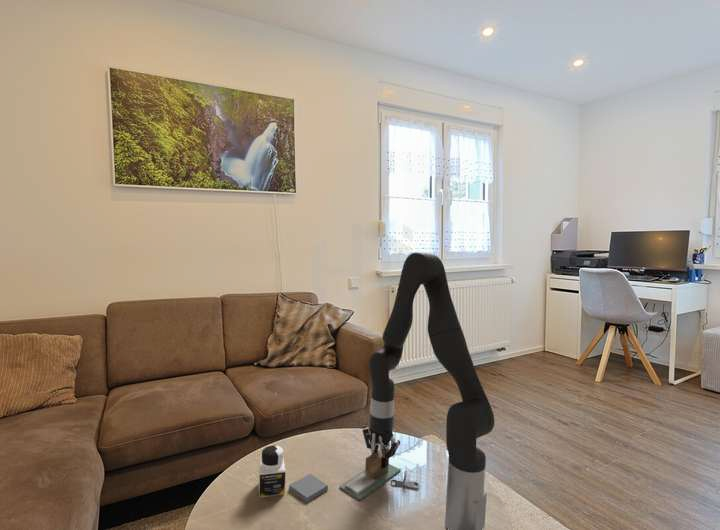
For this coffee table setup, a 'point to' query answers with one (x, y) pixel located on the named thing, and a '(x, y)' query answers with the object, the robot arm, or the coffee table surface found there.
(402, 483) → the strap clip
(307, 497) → the tile
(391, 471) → the mat
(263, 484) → the medicine bottle
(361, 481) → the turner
